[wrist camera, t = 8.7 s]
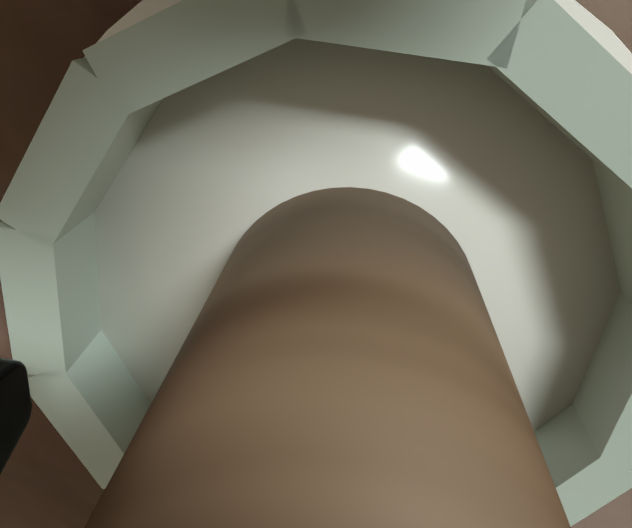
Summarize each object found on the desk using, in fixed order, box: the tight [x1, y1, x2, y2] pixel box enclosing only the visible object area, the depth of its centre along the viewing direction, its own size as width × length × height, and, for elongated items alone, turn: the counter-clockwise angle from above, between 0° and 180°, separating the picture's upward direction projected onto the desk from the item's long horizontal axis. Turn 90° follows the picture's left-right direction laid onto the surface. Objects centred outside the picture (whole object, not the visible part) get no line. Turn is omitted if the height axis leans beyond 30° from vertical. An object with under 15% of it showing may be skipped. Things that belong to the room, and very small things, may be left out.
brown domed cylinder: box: [85, 187, 571, 528], centre depth 8 cm, size 5×5×7 cm
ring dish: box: [0, 0, 632, 527], centre depth 10 cm, size 13×13×2 cm
